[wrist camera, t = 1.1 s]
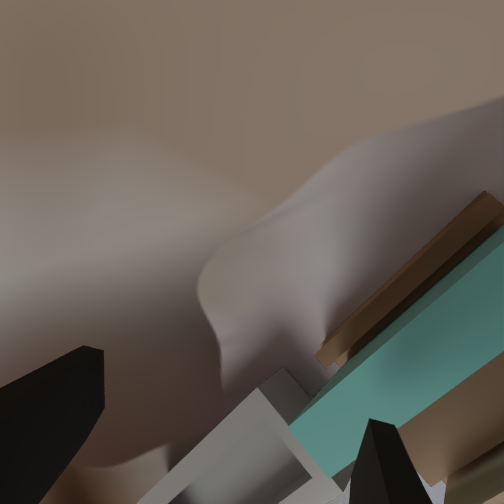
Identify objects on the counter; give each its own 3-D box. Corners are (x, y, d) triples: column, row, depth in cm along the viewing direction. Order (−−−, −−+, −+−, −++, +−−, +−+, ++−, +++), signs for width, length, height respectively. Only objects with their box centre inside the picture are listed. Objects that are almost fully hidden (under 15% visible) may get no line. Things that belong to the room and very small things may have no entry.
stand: (360, 457, 21) (343, 492, 19) (223, 557, 26) (194, 596, 23) (283, 366, 23) (257, 387, 20) (168, 476, 28) (134, 504, 25)
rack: (718, 385, 15) (750, 409, 13) (484, 515, 19) (484, 547, 17) (484, 191, 17) (484, 189, 16) (325, 340, 22) (310, 352, 20)
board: (545, 260, 16) (582, 293, 10) (377, 394, 20) (328, 479, 14) (502, 224, 17) (512, 234, 10) (346, 360, 20) (287, 427, 14)
